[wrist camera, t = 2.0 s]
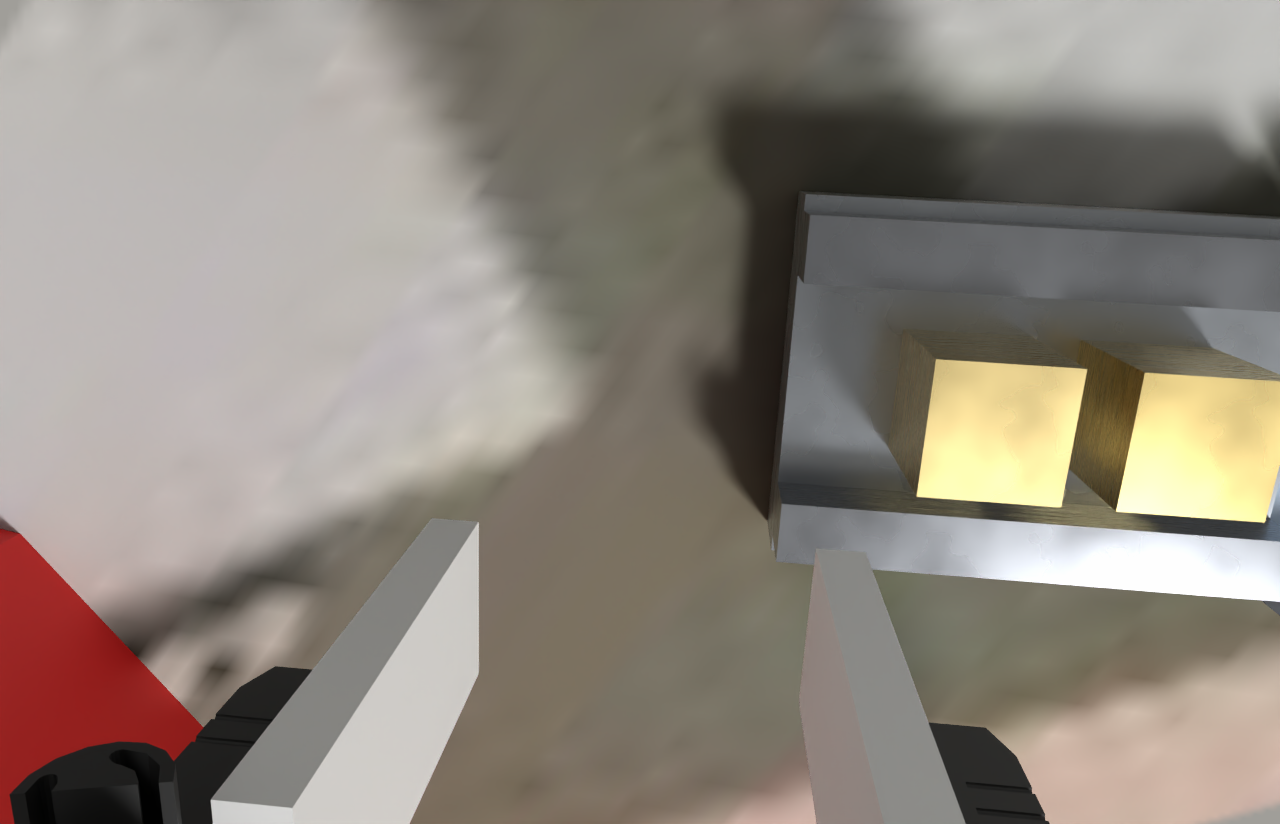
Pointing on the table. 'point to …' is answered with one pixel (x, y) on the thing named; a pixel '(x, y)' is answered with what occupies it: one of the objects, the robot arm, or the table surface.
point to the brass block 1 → (985, 417)
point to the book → (68, 676)
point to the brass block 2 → (1177, 431)
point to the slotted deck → (1021, 306)
